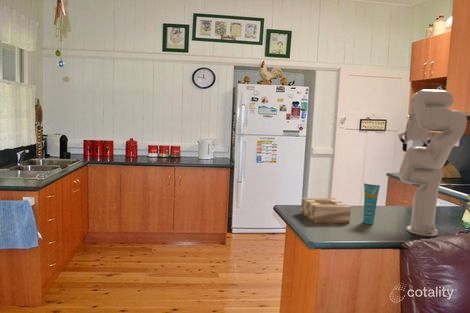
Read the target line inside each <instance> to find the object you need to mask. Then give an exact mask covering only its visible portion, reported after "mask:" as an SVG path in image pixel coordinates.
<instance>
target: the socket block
mask: <svg viewBox="0 0 470 313" xmlns="http://www.w3.org/2000/svg"><path fill="white" fill-rule="evenodd" d="M300 208H301V209H300V214H301V213H302V215H303V214H304V215H305V216H306V218H307V219H308V218H309V219H310V221H311V222H312V221H313V222H314V223H313V222H312V223H313V224H350V220H351V211H352V210H351V209H352V207H351V206H350V205H348V204H347V203H344V202H342V201H340V200H339V199H337V198H335V197H328V198H327V197H324V198H323V197H316V198H315V197H302V198H301V207H300ZM304 215H303V216H304ZM305 216H304V217H305ZM309 219H308V220H309Z"/></svg>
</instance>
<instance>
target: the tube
mask: <svg viewBox="0 0 470 313" xmlns="http://www.w3.org/2000/svg"><path fill="white" fill-rule="evenodd" d="M380 187H381V185H380V184H379V185H378V184H370V183H363V189H364V190H363V191H364V192H363V193H364V195H363V196H364V198H363V200H364V201H363V216H362V219H363V220H362V221H363V223H364V224H367V225H373V224H374V223H375V216H376V209H377V202H378V197H379V191H380Z"/></svg>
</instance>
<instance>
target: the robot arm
mask: <svg viewBox="0 0 470 313" xmlns="http://www.w3.org/2000/svg"><path fill="white" fill-rule="evenodd" d="M453 104H454V97H453V95H452V94H451V92H449V91H448V90H442V89H420V90H418V91H417V92H415V93H414V94H412V95H411V98H410V110H409V115H407V116H406V119H408V121H407V124H406V127H405V130H404V132H401V133H399V134H398V135H397V136H398V139H399V141H400V143H402V152H405V153H404V155H403V159H402V162H401V165H400V168H399V171H398V177H399V180H400V181H401V182H402V183H405V184H408V185H409V184H410V185H419V186H418V188H417V189H416V190H415V192H414V193H413V200H412V209H411V220H410V225H408V226H406V231H407V232H408V233H411V234H414V235H418V236H423V237H436V236H437V235H438V233H439V230H438V229H436V225H435V222H436V220H435V219H436V213H437V212H436V211H437V203H438V197H439V196H438V194H439V189H440V185H441V181H442V179H443V169H442V168H443V167H444V165H445V163H447V160H448V158H449V156H450V154H451V152H452V149H453V148H454V146H456V144H457V143H458V142H459V141H460V139H461V138H462V137H463V135H464V134H465V131H466V128H467V123H468V118H467V115H466V114H465V113H464V112H463V111H460V110H457V109H449V108H450V107H452V105H453ZM429 130H435V131H441V132H439V133H438V134H436V135H435V136H433V135H432V134H430V133H429ZM403 136H404V137H403ZM409 141H413V142H414V141H417V142H422V143H423V144H422V146H419V145H418V146H414V145H413V146H411V147H408V142H409Z"/></svg>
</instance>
